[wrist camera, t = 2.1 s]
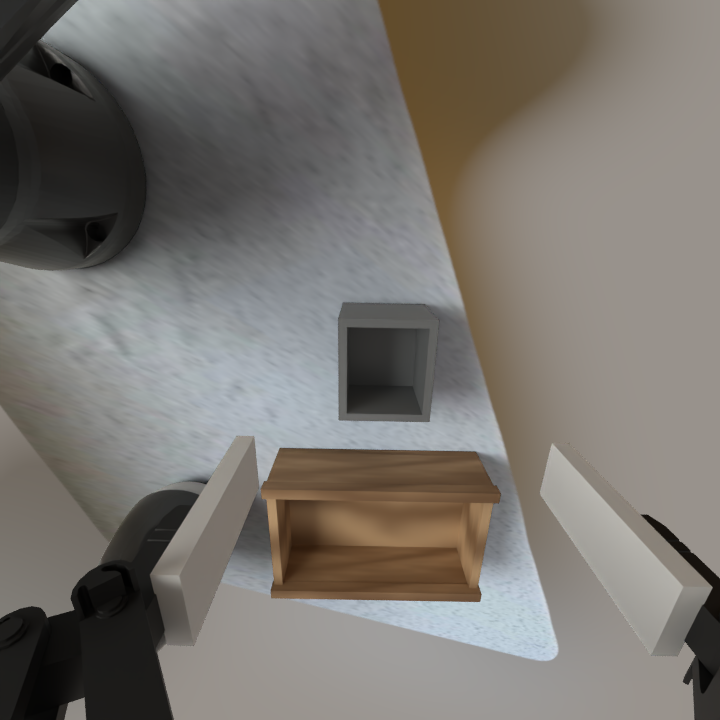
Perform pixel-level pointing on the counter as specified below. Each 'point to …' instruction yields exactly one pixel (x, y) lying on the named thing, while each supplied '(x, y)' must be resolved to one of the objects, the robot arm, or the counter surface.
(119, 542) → the pump dispenser
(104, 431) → the counter surface
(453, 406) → the counter surface
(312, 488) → the large crate
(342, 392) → the box
